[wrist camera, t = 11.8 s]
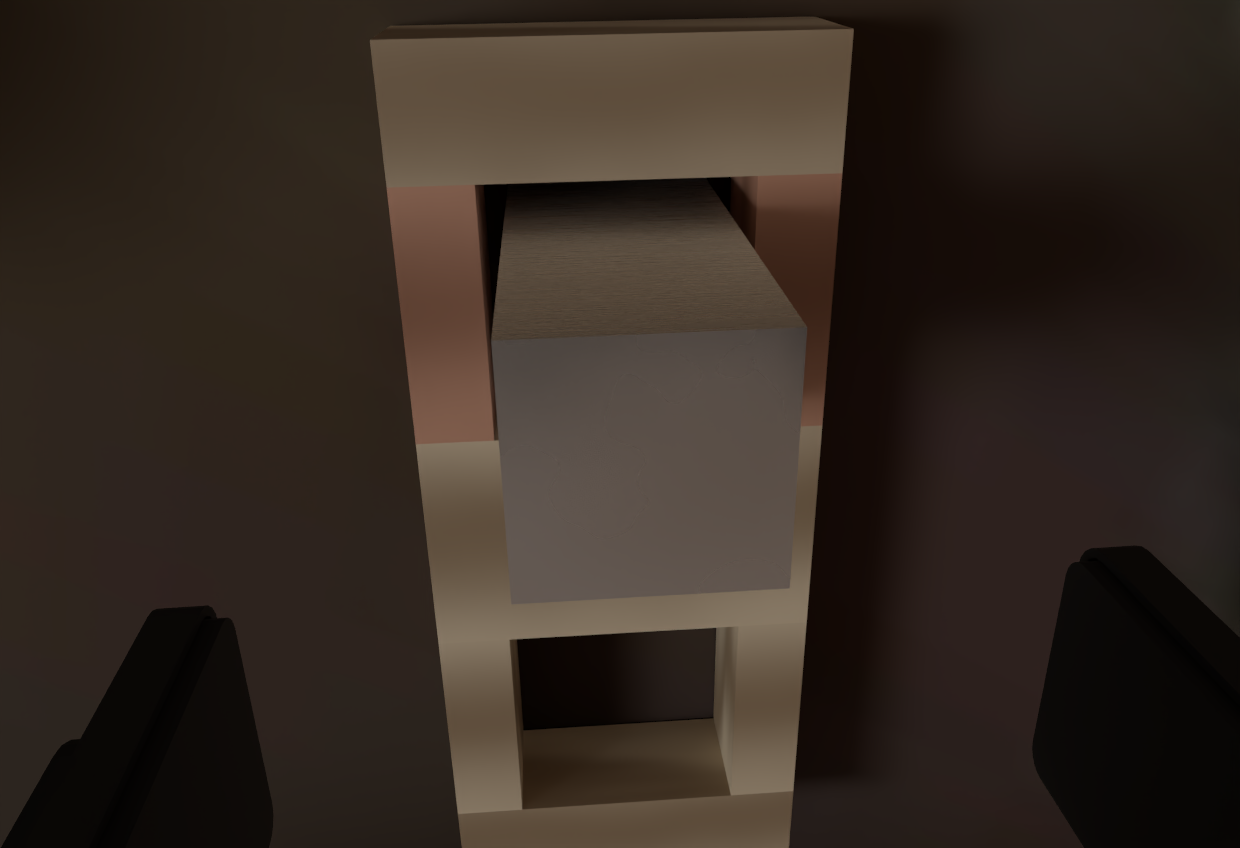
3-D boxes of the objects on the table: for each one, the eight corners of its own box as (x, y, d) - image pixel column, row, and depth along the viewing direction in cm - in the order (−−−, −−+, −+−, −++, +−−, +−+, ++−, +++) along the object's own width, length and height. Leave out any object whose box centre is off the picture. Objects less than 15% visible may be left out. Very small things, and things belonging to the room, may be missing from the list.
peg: (699, 353, 25) (789, 588, 16) (520, 361, 25) (511, 604, 16) (702, 173, 23) (807, 327, 14) (508, 179, 23) (491, 340, 14)
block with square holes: (766, 782, 32) (787, 862, 29) (472, 802, 31) (466, 885, 28) (814, 16, 22) (853, 28, 19) (390, 26, 21) (369, 39, 19)
